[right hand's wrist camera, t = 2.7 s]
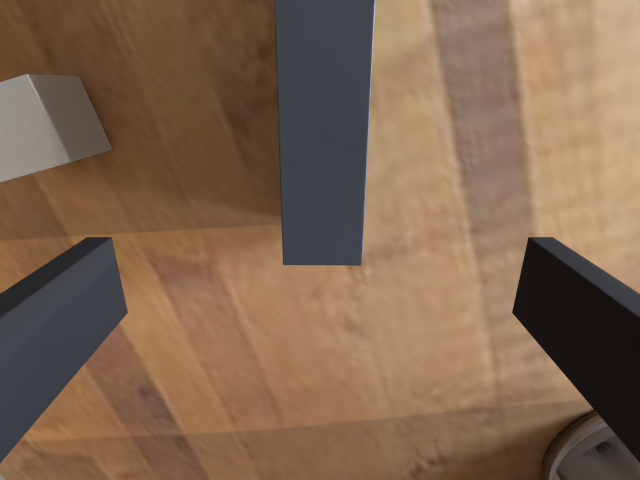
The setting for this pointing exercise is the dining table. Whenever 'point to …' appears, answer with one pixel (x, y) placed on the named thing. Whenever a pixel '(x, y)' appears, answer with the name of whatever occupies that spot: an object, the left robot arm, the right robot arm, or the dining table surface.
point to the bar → (323, 127)
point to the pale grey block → (46, 124)
